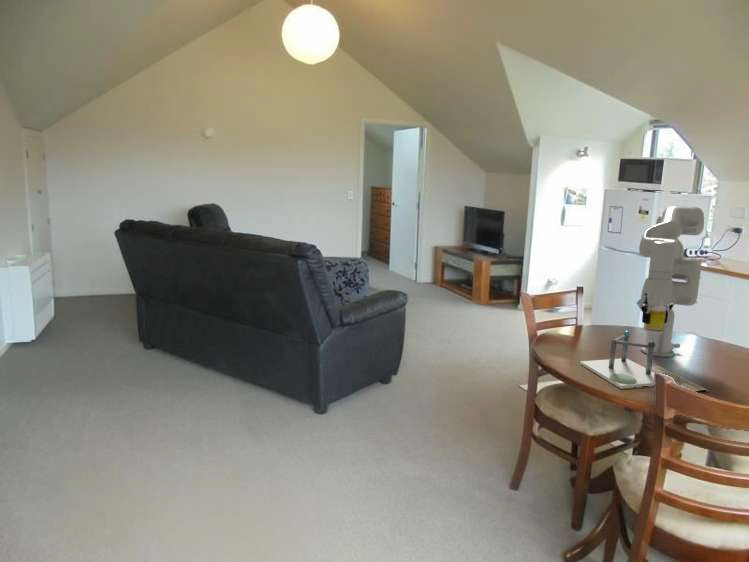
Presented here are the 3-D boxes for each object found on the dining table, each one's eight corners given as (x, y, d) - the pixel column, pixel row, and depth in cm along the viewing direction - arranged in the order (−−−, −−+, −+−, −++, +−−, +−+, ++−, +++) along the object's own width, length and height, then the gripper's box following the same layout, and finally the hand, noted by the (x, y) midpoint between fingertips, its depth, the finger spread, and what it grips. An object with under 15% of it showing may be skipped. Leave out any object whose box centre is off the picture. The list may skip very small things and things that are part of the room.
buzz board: (625, 360, 215) (626, 357, 215) (671, 384, 191) (672, 380, 191) (580, 364, 211) (580, 360, 211) (620, 388, 187) (621, 384, 187)
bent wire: (624, 360, 213) (627, 329, 210) (653, 374, 197) (657, 342, 195) (597, 361, 210) (600, 331, 208) (624, 377, 195) (628, 344, 192)
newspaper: (709, 393, 185) (709, 389, 185) (692, 395, 184) (692, 390, 184) (661, 369, 208) (661, 365, 208) (645, 371, 206) (645, 366, 206)
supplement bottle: (665, 335, 191) (670, 301, 188) (646, 334, 192) (650, 299, 190) (660, 329, 197) (664, 296, 195) (641, 328, 199) (644, 295, 196)
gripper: (672, 272, 196) (667, 318, 200) (632, 274, 192) (626, 321, 196) (688, 276, 189) (682, 324, 192) (646, 278, 185) (640, 326, 189)
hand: (654, 322), depth 194 cm, fingers closed on supplement bottle, 6 cm apart
